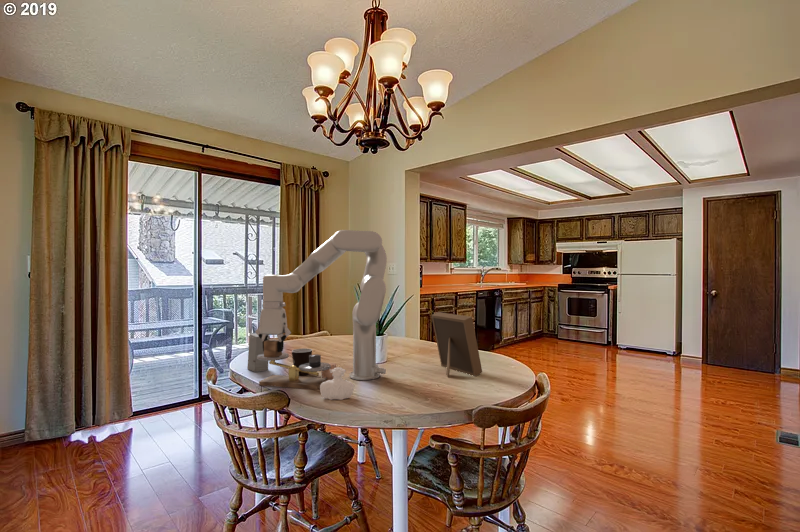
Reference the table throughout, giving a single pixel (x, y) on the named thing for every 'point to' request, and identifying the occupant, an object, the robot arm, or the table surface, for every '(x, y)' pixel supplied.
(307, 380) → the balance base
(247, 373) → the table surface
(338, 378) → the bust
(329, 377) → the peach rounded egg
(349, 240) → the robot arm
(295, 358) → the coffee mug
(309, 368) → the balance
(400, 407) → the table surface
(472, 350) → the photo frame
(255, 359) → the skincare box
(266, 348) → the walnut block
